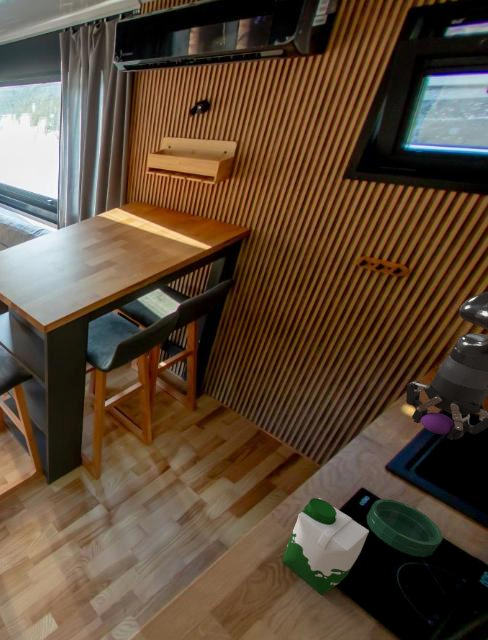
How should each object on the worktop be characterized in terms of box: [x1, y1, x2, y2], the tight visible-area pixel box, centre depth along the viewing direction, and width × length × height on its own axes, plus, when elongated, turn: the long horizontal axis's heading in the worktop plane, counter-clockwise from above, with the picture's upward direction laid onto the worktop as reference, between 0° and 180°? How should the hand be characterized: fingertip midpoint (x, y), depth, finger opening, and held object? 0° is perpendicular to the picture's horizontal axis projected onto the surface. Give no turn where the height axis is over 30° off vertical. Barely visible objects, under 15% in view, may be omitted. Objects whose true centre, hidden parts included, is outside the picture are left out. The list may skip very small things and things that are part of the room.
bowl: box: [366, 498, 444, 558], centre depth 82 cm, size 10×10×6 cm
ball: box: [420, 412, 455, 435], centre depth 88 cm, size 5×5×5 cm
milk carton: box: [282, 497, 370, 596], centre depth 76 cm, size 9×9×20 cm
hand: (433, 429), depth 89 cm, fingers closed on ball, 5 cm apart
